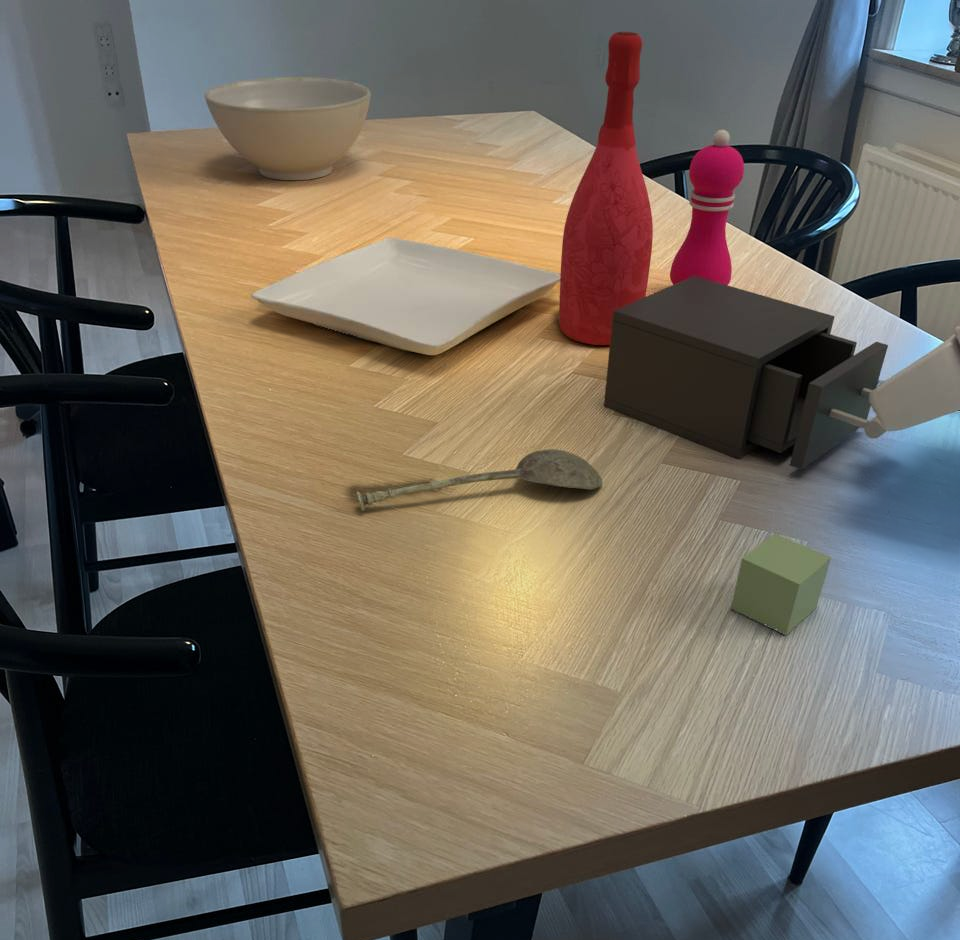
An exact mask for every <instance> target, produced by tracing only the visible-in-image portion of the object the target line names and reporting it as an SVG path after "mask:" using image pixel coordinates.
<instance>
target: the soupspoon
mask: <svg viewBox="0 0 960 940" xmlns="http://www.w3.org/2000/svg"><path fill="white" fill-rule="evenodd" d="M512 479H513V480H514V479H520V480H524V481H526V482H527V481H528V482H530V483H531V482H532V483H535V484H536V483H537V484H541V485H549V486H554V487H561V488H573V489H583V490H595V489H599V488H600V487H602V485H603V478H602V477H601V475H600V474H599V472H598V471H597V469H596V468H595V467H593V466H592V464H591V463H589V462H588V461H586V460H585V458H582V457H581V456H579V455H577V454H575V453H572V452H569V451H566V450H562V449H556V448H555V449H552V448H550V449H549V448H548V449H547V448H546V449H541V450H536V451H533V452H530V453H528V454H527V455H525V456H524V457H522V459H521V460H520V461H519V462H518V463H517V466H516V468H515V469H508V470H498V471H497V470H496V471H489V472H482V473H474V474H468V475H463V476H462V475H461V476H458V477H457V476H456V477H453V478H452V477H451V478H448V479H447V478H446V479H441V480H436V481H431V482H425V483H420V484H414V485H410V486H404V487H399V488H395V489H392V488H391V487H389V488H387V490H386V491H384V490H377V491H372V493H370V492H365V494H364V496H363V495H362V494H361V493H360V492H359V491H356V496H357V500H358V504H359V508H360V510H361V512H365V509H366V505H368V506H369V507H370V506H372V505H373V504H374V503H377V502H382V501H384V500H386V499H387V498H390V499H394V497H396V496H397V497H398V496H402V495H406V494H412V493H413V494H414V493H418V492H425V491H431V490H437V489H444V488H449V487H455V486H460V485H466V484H471V483H473V484H474V483H479V482H489V481H499V480H512Z"/></svg>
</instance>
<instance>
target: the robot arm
mask: <svg viewBox="0 0 960 940" xmlns="http://www.w3.org/2000/svg"><path fill="white" fill-rule="evenodd" d="M869 403H870V405H871V407H870V408H872V411H873V412H874V413H875V416H877V417H878V419H879V420H880V422H881V424H882V426H883V427H884V429H885V430H887V431H886V432H897V431H903V430H906V429H909V428H912V427H915V426H918V425H922V424H925V423H928V422H930V421H933V420H935V419H938V418H941V417H944V416H947V415H950V414H952V413H955V412H959V411H960V324H959V325H957V326H956V327H955V328H954V333H953V334H952V335H951V336H950V337H949V338H947V339H946V340H944V342H942V343H941V344H939V345H938V346H936V347H935V348H934V349H932V350H931V351H928V353H925V355H923V356H921V357H920V358H918V359H917V360H915V361H913V362H912V363H911V364H909V365H908V366H906V367H905V368H903V369H901V370H900V371H898V372H897V373H895V374H894V375H892V376H891V377H889V378H887V379H886V380H885V381H883V382H882V383H880V384H879V385H877V386H876V388H875V389H874V390H873V391H872V392H871V393H870V394H869Z"/></svg>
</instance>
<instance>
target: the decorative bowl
mask: <svg viewBox="0 0 960 940" xmlns="http://www.w3.org/2000/svg"><path fill="white" fill-rule="evenodd" d="M371 96H372V93H371V90H370V89H369V88H368V87H367V86H365V85H363V84H360V83H357V82H354V81H349V80H344V79H336V78H327V77H311V76H310V77H309V76H278V77H277V76H276V77H262V78H261V77H260V78H250V79H242V80H237V81H231V82H227V83H222V84H219V85H217V86H214V87H212V88H210V89H208V90H207V91H206V92H205V94H204V98H205V102H206V105H207V108H208V110H209V112H210V114H211V117H212V119H213V121H214V122H215V125H216V126H217V128H218V129H219V131H220V133H221V134H222V136H223V137H224V139H225V140H226V141H227V142H228V144H229V145H230V146H231V147H232V148H233V149H234V150H235V151H236V152H237V154H239V155H240V156H241V157H242V158H244V159H245V160H247V161H248V162H250V163H251V164H253V165H254V166H256V167H258V171H259V173H260V175H262V176H263V177H265V178H268V179H272V180H273V179H274V180H277V181H278V180H279V181H306V180H314V179H320V178H322V177H323V178H324V177H326V176H328V175H329V174H331V173H332V172H333V166H334V164H336V163H337V162H338V161H340V160H341V159H343V157H344V156H345V155H346V154H347V153H348V152H349V151H350V150H351V149H352V147H353V146H354V145H355V143H356V141H358V138H359V136H360V134H361V132H362V130H363V127H364V124H365V122H366V119H367V116H368V111H369V108H370V104H371Z"/></svg>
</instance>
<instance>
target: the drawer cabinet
mask: <svg viewBox="0 0 960 940" xmlns="http://www.w3.org/2000/svg"><path fill="white" fill-rule="evenodd" d="M834 321H835V315H832V314H830V313H829V314H828V313H825V312H821V311H818V310H816V309H815V310H814V309H811V308H807V307H804V306H800V305H798V304H793V303H790V302H786V301H783V300H780V299H777V298H772V297H769V296H766V295H763V294H760V293H756V292H752V291H749V290H745V289H741V288H738V287H735V286H732V285H729V284H728V285H724V284H721V283H718V282H714V281H711V280H707V279H704V278H700V277H697V276H692V277H690V278H688V279H685V280H683V281H681V282H679V283H676V284H674V285H673V284H672V285H670V286H667V287H665V288H663V289H660V290H657V291H655V292H653V293H651V294H649V295H646V297H644V298H642V299H639V300H637V301H635V302H632V303H630V304H628V305H626V306H623V307H621V308H619V309H616V310H614V311H613V320H612V328H611V339H610V345H609V349H608V360H607V370H606V379H605V390H604V400H603V406H604V407H605V408H608V409H611V410H613V411H615V412H619V413H621V414H622V415H626V416H629V417H631V418H633V419H635V420H636V419H637V420H639V421H641V422H644V423H646V424H649V425H652V426H654V427H656V428H659V429H662V430H664V431H667V432H669V433H672V434H674V435H677V436H679V437H682V438H684V439H687V440H690V441H692V442H695V443H697V444H698V445H699V444H700V445H702V446H704V447H707V448H709V449H712V450H715V451H716V452H717V451H718V452H720V453H722V454H725V455H728V456H730V457H733V458H735V459H738V460H739V459H741V458H742V457H744V456H746V455H747V454H749V453H750V452H752V451H754V450H755V449H756V448H758V447H759V446H760V445H758V444H755V443H753V442H750V441H748V440H747V437H748V432H749V427H750V422H751V417H752V412H753V408H754V403H755V398H756V393H757V388H758V383H759V378H760V373H761V368H762V365H763V364H765V363H767V362H768V361H770V360H772V359H774V358H775V357H777V356H779V355H781V354H782V353H784V352H786V351H788V350H789V349H791V348H793V347H795V346H796V345H798V344H800V343H802V342H804V341H805V340H807V339H809V338H811V337H812V336H814V335H816V334H818V333H819V332H824V333H827V334H832V329H833V324H834Z"/></svg>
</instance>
